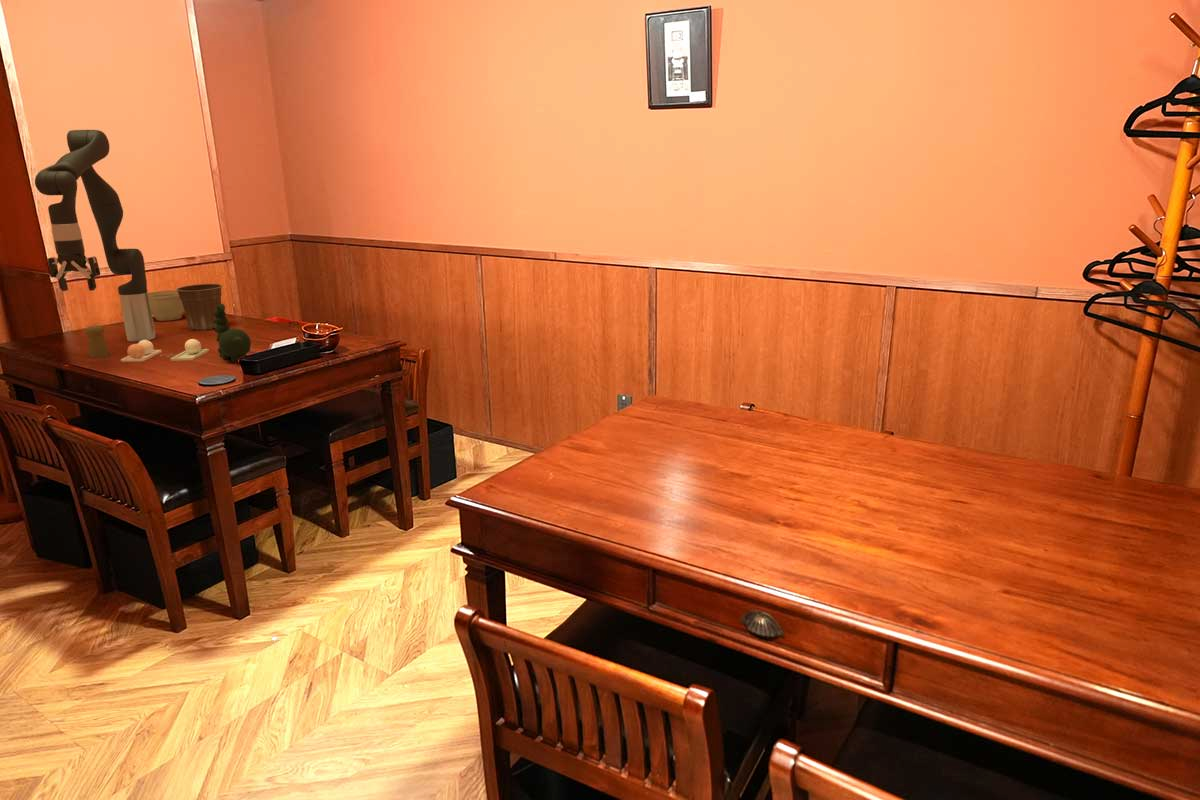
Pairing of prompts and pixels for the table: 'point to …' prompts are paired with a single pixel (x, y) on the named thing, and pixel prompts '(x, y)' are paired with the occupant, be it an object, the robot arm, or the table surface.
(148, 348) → the ball
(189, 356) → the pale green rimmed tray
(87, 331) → the olive green waisted cylinder
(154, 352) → the egg tray
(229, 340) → the toy figurine
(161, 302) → the planter bowl
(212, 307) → the plant pot
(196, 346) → the ball
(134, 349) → the ball
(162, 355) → the card
